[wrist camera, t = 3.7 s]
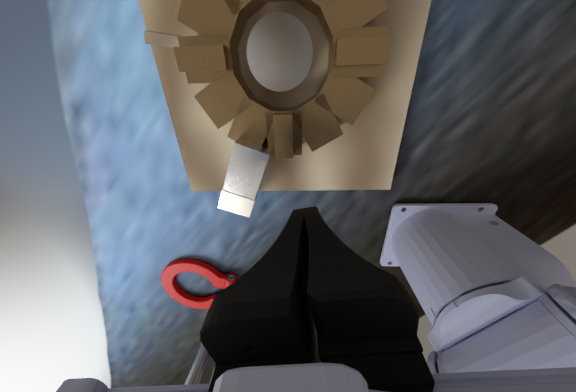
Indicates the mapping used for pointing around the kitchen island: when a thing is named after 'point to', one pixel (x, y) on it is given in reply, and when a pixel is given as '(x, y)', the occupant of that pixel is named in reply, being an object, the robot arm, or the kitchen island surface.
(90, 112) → the kitchen island surface
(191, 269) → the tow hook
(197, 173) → the spindle board
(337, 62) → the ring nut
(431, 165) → the kitchen island surface
